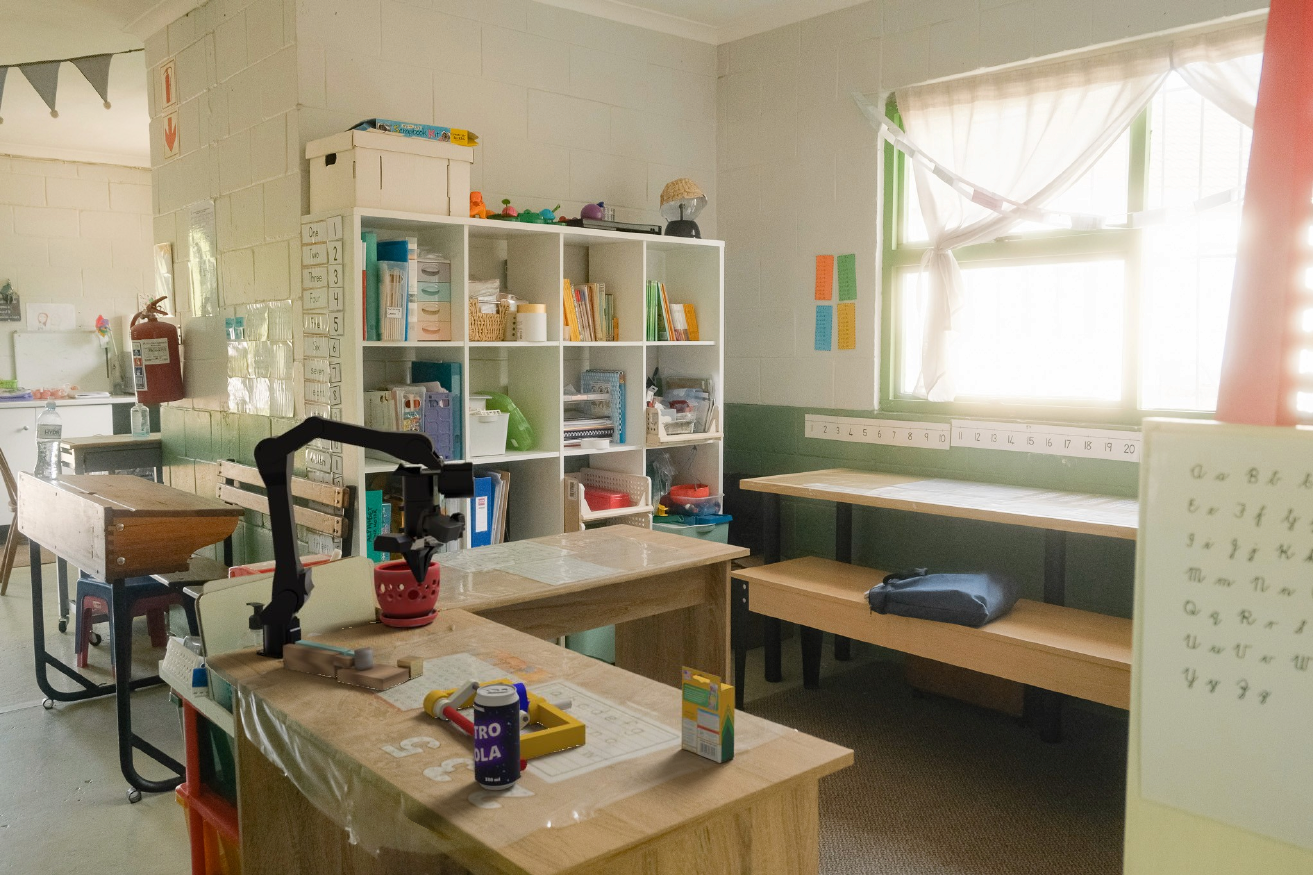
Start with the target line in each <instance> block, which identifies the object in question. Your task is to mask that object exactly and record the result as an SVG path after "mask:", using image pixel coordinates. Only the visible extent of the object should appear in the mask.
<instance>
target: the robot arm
mask: <svg viewBox="0 0 1313 875" xmlns="http://www.w3.org/2000/svg"><path fill="white" fill-rule="evenodd" d="M316 439H320V440H325V441H330V442H335V443H340V444H344V445H351V446H356V447H360V448H365V449H370V450H375V451H378V452H379V451H380V452H382V453H385V454H387V455H389V456H391V457H393V458H396V459H398V460H400V461H403V462H400V463H399V464H398V466H397V467H396V469H394V470H393V471H392V472H391V476H392V477H402V504H400V505H397V506H398V508H397V509H398V510H397V511H398V512H402V513H403V514H402V515H403V517H402V518H403V522H402V524H403V526H400V527H398V533H397V532H386V533H382V534H378V535H376V536H375V537H374V538H373V540H372V543H373V552H381V553H390V554H400V555H401V556H402V558H403V559H404V561H406V562H407V564H408V566H409V568H410V570H411V572H412V574H413V576H414V577H415V579H416V581H417V583H423V582H424V581H425V578H426V574H427V571H428V568H429V565H430V562H431V561H432V559H433V557H434V554H435V553H436V552H437V551H438V550H439V549H441V548H442V547H444V544H447V543H449V542H453V541H454V542H456V541H459V540H458V539H462V538H464V531H466V518H465V514H464V513H462V512H460V511H459V512H454V513H452V514H451V515H450V514H446V515H445V514H443V513H442V507H441V506H440V503H436V502H435V476H437V482H436V483H437V494H438V495H439V494H440V495H441V496H443V499H444V500H451V499H453V500H455V499H456V500H457V499H460V500H461V499H475V495H476V494H475V492H476V490H475V488H476V487H475V485H476V484H475V483H476V482H475V477H474V462H472V461H464V462H460V463H459V462H450V463H449V462H446V463H445V461H444V460H443V457H441V456H440V455H439V453H438V452H437V450H435V443H434V440H433V438H432V437H431V435H430V434H428V433H427V432H424V431H418V430H385V429H378V428H374V427H370V426H364V425H360V424H356V423H351V422H350V423H349V422H346V421H340V420H336V419H330V418H328V417H327V418H326V417H324V416H322V415H319V414H318V415H311V416H308V417H306V418H305V419H304V421H302V422H300V423H299V424H297V425H296V426H294V427H293V428H291V429H289V430H287V431H285V432H283V434H280V435H272V436H269V437H266V438H263V439H262V440H260V441H259V442H258V443H257V444H256V445H255V447H254V449H253V457H254V461H255V465H256V467H257V471H258V474H259V477H260V478H261V480H262V482H263V484H264V486H265V490H266V496H267V506H268V512H269V520H270V528H271V537H272V538H271V539H272V546H273V554H274V562H275V565H274V566H275V567H274V573H273V579H272V584H271V585H272V586H271V601H270V602H269V603H268V604H267V605H266V606H265V607H264V608H263V609H262V610H261V611H260V612H259V614H258V618H259V620H260V622H261V626H262V648H260V649H258V650H256V651H255V652H256V653H255V654H256V655H262V656H266V657H267V656H268V657H273V658H276V659H277V658H278V659H282V658H283V646H284V645H287V644H295V642H297V641H300V640H302V628H301V619H300V618H299V617H298V616H297V614H298V613H299V612H300V611H301V609H302V608H303V607H304V606H305V604H306V603H307V602H308V601H309V599H310V597H311V595H312V591H313V590H314V589H315V588H316V587H315V584H314V583H313V580H312V579H313V578H312V575H313V574H312V572H313V570H312V569H313V568H312V566H309V567H304V564H303V563H302V561H301V558H300V552H299V544H298V543H299V542H298V534H297V526H296V518H295V517H296V516H295V509H294V508H295V507H294V500H293V492H292V491H293V490H292V479H293V474H294V466H295V465H294V464H295V456H296V455H295V453H296V452H297V451H299V450H300V449H302V448H304V447H305V446H307V445H308V444H310V443H312V442H313V441H314V440H316ZM404 462H405V463H408V464H411V465H412V466H407V465H405V464H404ZM413 465H420V466H413ZM422 465H423V467H425V468H427V469H429V470H423V467H422Z"/></svg>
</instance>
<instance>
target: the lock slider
mask: <svg viewBox="0 0 1313 875" xmlns="http://www.w3.org/2000/svg"><path fill="white" fill-rule="evenodd" d="M396 667H400V668H406V669H409V678H410V679H411V678H414V679H416V678H415V677H416V676H419V675H421V674H423V675H424V658H423V657H421V656H416V655H412V654H411V655H410V654H409V655H406V656H403V657H401V658H398V659H397V660H396ZM419 677H420V676H419Z"/></svg>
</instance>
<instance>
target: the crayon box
mask: <svg viewBox="0 0 1313 875" xmlns="http://www.w3.org/2000/svg"><path fill="white" fill-rule="evenodd" d="M681 670H682V671H681V675H682V676H681V749H682V750H684V751H688V752H691V753H693V754H695V755H696V754H697V755H699V756H701V757H704V758H707V759H709V760H711V761H714V762H716V763H718V764H721V763H725V762H727V761H729V760H732V759H733V758H735V693H736V692H735V689H736V688H735V686H733V685H731V684H726V683H723V682H722V677H721V676H718V675H714V674H710V673H708V672H704V671H702V670H697V669H696V668H695V669H694V668H692V667H688V666H685V665H682V666H681ZM700 675H701V676H700Z"/></svg>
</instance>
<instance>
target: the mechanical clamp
mask: <svg viewBox="0 0 1313 875" xmlns="http://www.w3.org/2000/svg"><path fill="white" fill-rule="evenodd" d="M489 684H509V685H513V686H514V687H516V692H517V694H518V696H519V698H520V731H521V730H522V729H523V728H524V727H525V726H527V725H528V724H532V725H535V724H534V723H537V722H539V723H541V724H543V726H542V727H544V726H545V727H547V728H549V729H547V728H545V727H544V728H545V729H542V730H538V731H534V732H529V733H525V734H520V772H523V771H524V770H526V768H527V767H528V760H530V759H529V758H531V759H535V758H537V757H536V756H539V757H542V756H541V755H543V754H547V755H549V754H548V753H551V754H553V753H552V752H554V751H558V752H560V751H559V750H562V749H566V750H568V749H567V748H568V747H574V746H576V745H582V744H587V742H586V723H584V722H582V721H580V720H578V719H577V718H575V717H574V716H572V715H570V714H568V713H567V712H565V710H569V709H572V706H573V703H572V700H571V699H570V698H564V699H560V700H555V701H551V702H548V701H547V700H546V698H545V697H544V696H538V695H536V694H535V693H532V692H531V691H529V690H527V688H526V685H525V684H524V683H523V682H517V683H515V682H513V681H512V680H510V679H508V678H507V677H505V678H500V679H495V680H490V681H485V682H480V683H479V682H477V681H476V680H475V679H473V678H469V679H467V680H466V681H465V682H464V683H463V684H462V685H461V686H459V687H455V688H451V689H446V690H440V689H435V690H431V691H430V692H428V693H427V694H426V695H425V697H424V699H423V703H422V707H423V709H424V711H425V712H426V714H428V715H429V714H430V717H432V718H433V717H434V719H436V718H435V717H440V718H439V719H441V720H442V721H447V720H446V719H449V720H450V721H451V723H454V724H455V725H456V726H458V727H459V728H460V729H462V730H463V731H464V732H465V733H467V734H468V735H469V736H471V737H473V738H474V721H473V722H472V720H469V718H467V717H465V716H464V715H463V714H461V713H460V712H458V710H456V709H458V708H464V709H466V708H465V707H468V706H473V705H474V699H475V697H476V695H477V689H478V688H480V687H482V686H485V685H489ZM473 707H474V706H473ZM468 708H469V707H468ZM539 723H537V724H539ZM582 746H583V745H582ZM574 748H575V747H574ZM562 751H563V750H562ZM543 756H544V755H543ZM534 757H535V758H534ZM527 759H528V760H527Z"/></svg>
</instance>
